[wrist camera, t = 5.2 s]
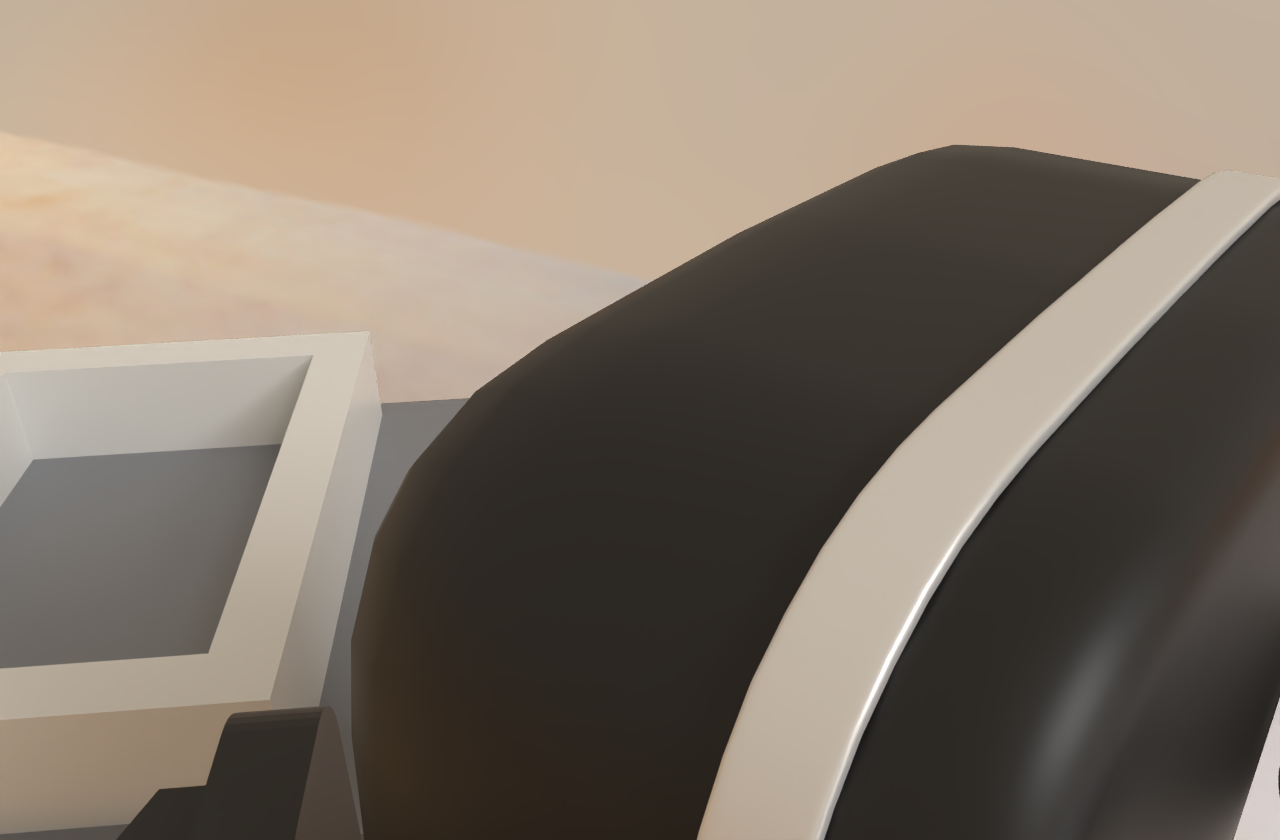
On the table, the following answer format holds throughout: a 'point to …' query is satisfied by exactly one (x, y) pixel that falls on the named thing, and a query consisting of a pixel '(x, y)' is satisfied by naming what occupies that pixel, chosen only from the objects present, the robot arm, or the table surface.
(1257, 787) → the table surface
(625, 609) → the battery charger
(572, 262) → the table surface
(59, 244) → the table surface
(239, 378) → the charging dock
